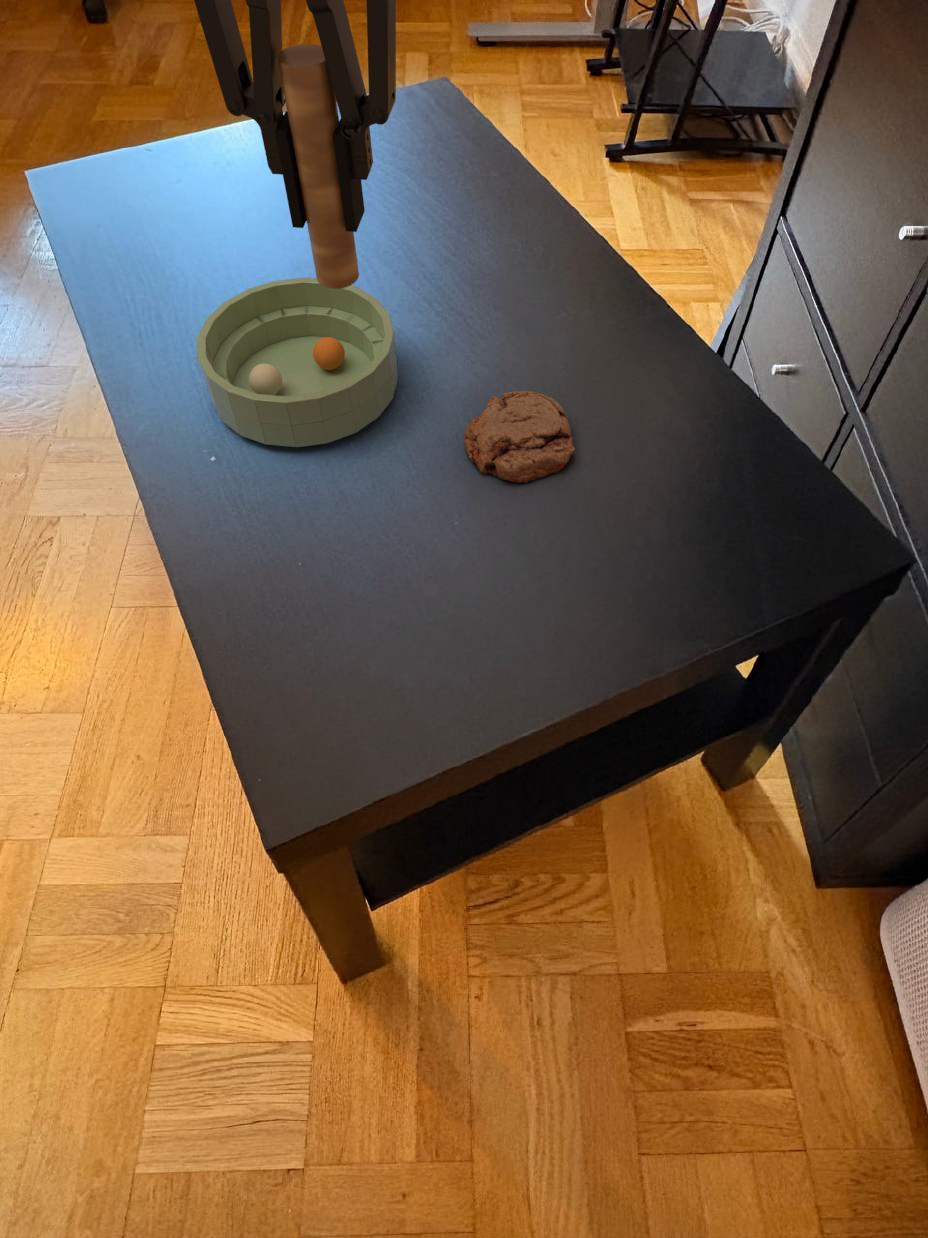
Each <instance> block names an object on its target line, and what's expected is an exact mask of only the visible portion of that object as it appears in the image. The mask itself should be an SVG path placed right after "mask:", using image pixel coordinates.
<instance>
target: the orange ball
mask: <svg viewBox="0 0 928 1238" xmlns="http://www.w3.org/2000/svg"><path fill="white" fill-rule="evenodd" d="M313 357H314V360H315V362H316V363H317V364H318V365H319V366H320V367H321V368H323V369H326V370H333V369H336V368H338V367H339V366H340V365H341V364H342V363H343V361H344V357H345V351H344V348H343V346H342V344H341V343H340V342H339V341H338V340H337V339H335V338H332V337H324V338H322V339H320V340H319V341H317V343H316V344H315V346H314V349H313Z"/></svg>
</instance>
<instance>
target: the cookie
mask: <svg viewBox="0 0 928 1238" xmlns="http://www.w3.org/2000/svg"><path fill="white" fill-rule="evenodd" d="M571 432H572V431H571V426H570V424H569V421H568V416H567V414H566V411H565V409H564V408H563V407H562V406H561V404H560V403H559V402H558V401H557V400H556V399H555V398H552V397H551V396H548V395H546V394H543V393H539V392H535V391H532V390H522V391H521V390H520V391H519V390H517V391H516V390H512V391H509V392H504V393H503V394H502V398H500V397H498V396H496V395H493V396H491V397H490V399H489V401H488V402H487V403H486V406H485V409H484V410H483V412H482V413H481V414H479V416H476V417H474V418H473V419H472V420H471V421H470V423H469V424H468V425H467V426H466V428H465V429H464V433H463V439H464V441H463V444H464V448H465V451H466V454H467V456H468V458H469V460H470V461H471V462H472V463H473V465H476V468H477V469H479V472H480V473H482V474H488V473H489V474H493V476H494V477H495V476H497V478H498V479H500V480H505V481H508V482H510V483H517V484H519V483H526V484H528V482H529V481H536V480H537V479H541V478H544V477H547V476H548V475H551V474H553V473H555V474H557V473H558V472H559V471H561V470H563V469H564V467H565V466H566V464H567V463H568V462H569V460H570V457H571V456H572V455H573V454H574V452H575V449H576V448H575V446H574V444H573V437H572V436H571ZM568 464H569V463H568Z"/></svg>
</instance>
